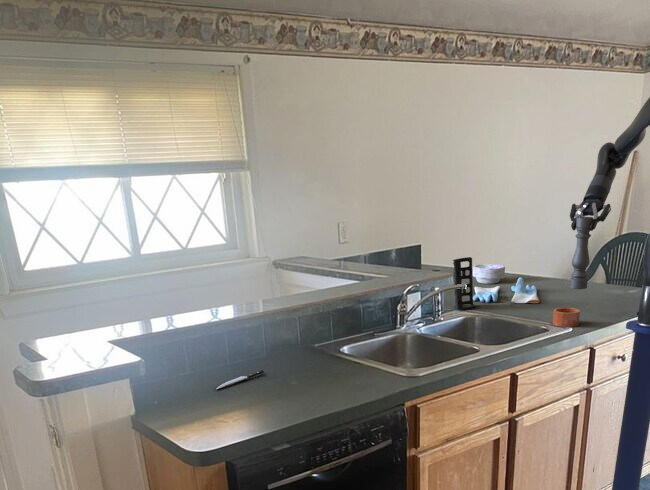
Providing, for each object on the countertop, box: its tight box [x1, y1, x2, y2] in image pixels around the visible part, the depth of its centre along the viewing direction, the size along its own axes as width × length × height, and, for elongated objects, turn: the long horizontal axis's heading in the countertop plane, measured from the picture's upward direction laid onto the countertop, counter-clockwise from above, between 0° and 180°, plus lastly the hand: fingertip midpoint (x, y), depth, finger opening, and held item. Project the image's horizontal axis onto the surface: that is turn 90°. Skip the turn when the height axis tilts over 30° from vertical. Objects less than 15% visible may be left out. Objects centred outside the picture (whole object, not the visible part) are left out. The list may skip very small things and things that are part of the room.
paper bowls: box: [472, 263, 506, 285], centre depth 317 cm, size 15×15×8 cm
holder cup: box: [552, 307, 581, 328], centre depth 238 cm, size 9×9×5 cm
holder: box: [452, 256, 475, 311], centre depth 267 cm, size 11×8×20 cm
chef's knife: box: [215, 369, 265, 390], centre depth 194 cm, size 19×1×3 cm
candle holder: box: [568, 216, 594, 290], centre depth 239 cm, size 6×6×25 cm
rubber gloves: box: [473, 277, 540, 304], centre depth 287 cm, size 27×33×6 cm
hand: (582, 229), depth 234 cm, fingers closed on candle holder, 5 cm apart
